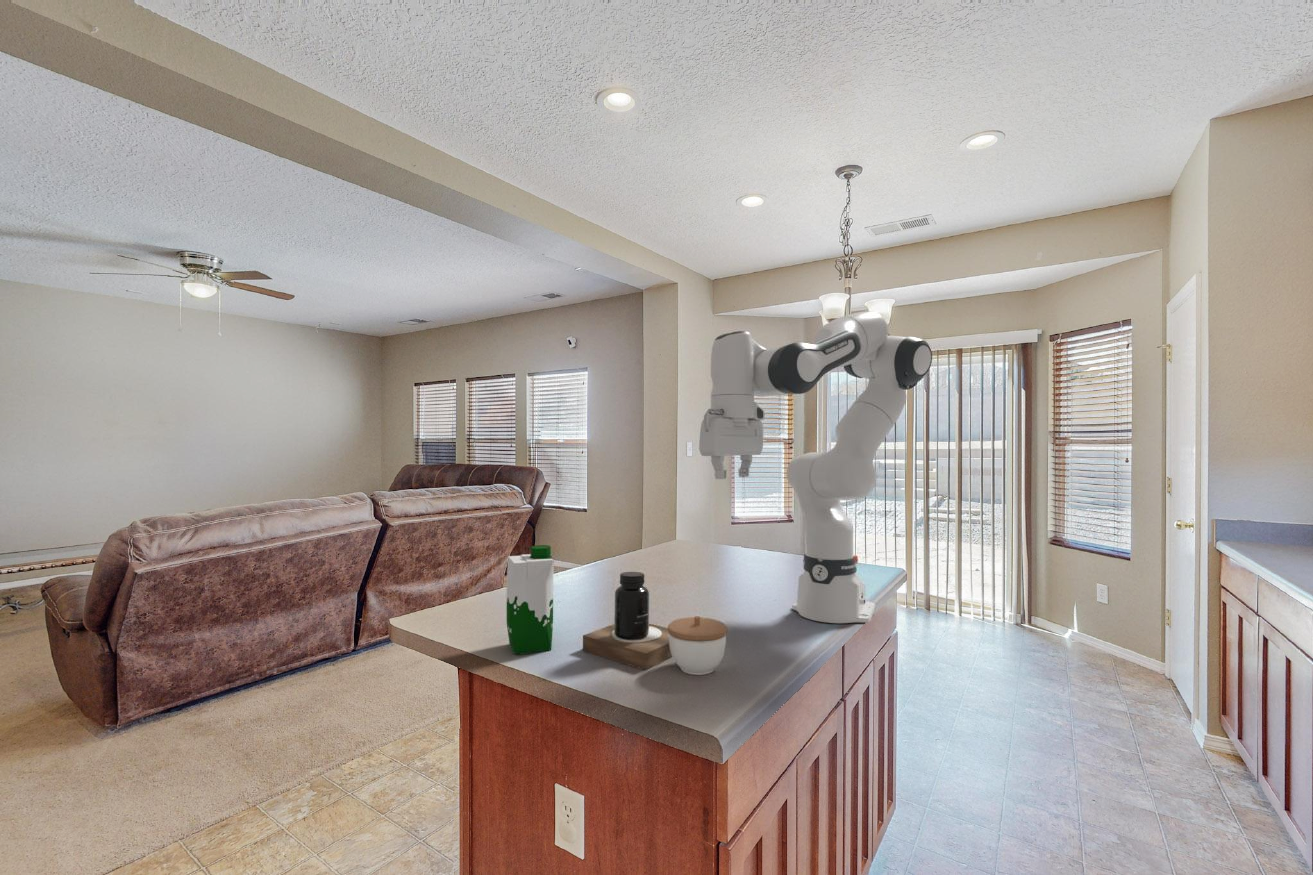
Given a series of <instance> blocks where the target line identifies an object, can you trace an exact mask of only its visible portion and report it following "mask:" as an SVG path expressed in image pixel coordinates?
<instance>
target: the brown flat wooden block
mask: <svg viewBox="0 0 1313 875" xmlns="http://www.w3.org/2000/svg"><path fill="white" fill-rule="evenodd" d="M582 651H583V652H585V653H590V654H593V655H594V656H598V657H602V658H605V659H608V660H612V661H615V662H617V663H618V662H619V663H622V664H625V665H628V666H631V667H635V668H637V669H641V670H644V671H647V670H649V669H651V668H653V667H655V666H657V665H660V664H661V663H663V662H666V661H667V660H669V659H671V658H673V657H672V655H671V651H670V647H669V633H668V627H665V626H661V625H657V624H653V623H649V633H648V635H647V636H646V637H645V638H642V639H638V640H625V639H621V638H618V637H617V636H616V635H615V632H614V624H610V625H607V626H605V627H603V628H599V629H596V630H593V631H591V632H588V633H587V634H586V633H585V634H584V635H582Z"/></svg>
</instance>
